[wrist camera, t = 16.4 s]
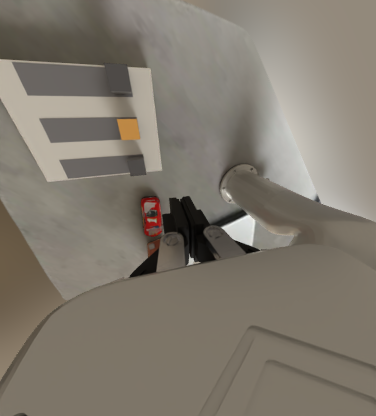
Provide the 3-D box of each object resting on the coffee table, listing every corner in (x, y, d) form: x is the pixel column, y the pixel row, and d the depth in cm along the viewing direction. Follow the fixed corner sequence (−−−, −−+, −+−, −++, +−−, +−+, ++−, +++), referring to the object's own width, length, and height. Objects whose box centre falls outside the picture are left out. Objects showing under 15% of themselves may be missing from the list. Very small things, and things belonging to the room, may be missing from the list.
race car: (161, 231, 46) (163, 240, 42) (144, 233, 44) (144, 242, 41) (160, 194, 39) (162, 201, 36) (140, 195, 37) (140, 202, 34)
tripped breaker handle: (137, 118, 26) (136, 118, 23) (140, 137, 28) (140, 139, 24) (119, 119, 25) (116, 119, 22) (124, 137, 27) (121, 140, 24)
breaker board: (149, 73, 26) (151, 61, 21) (160, 166, 35) (164, 175, 30) (-4, 65, 21) (-52, 46, 16) (55, 176, 30) (37, 188, 25)
